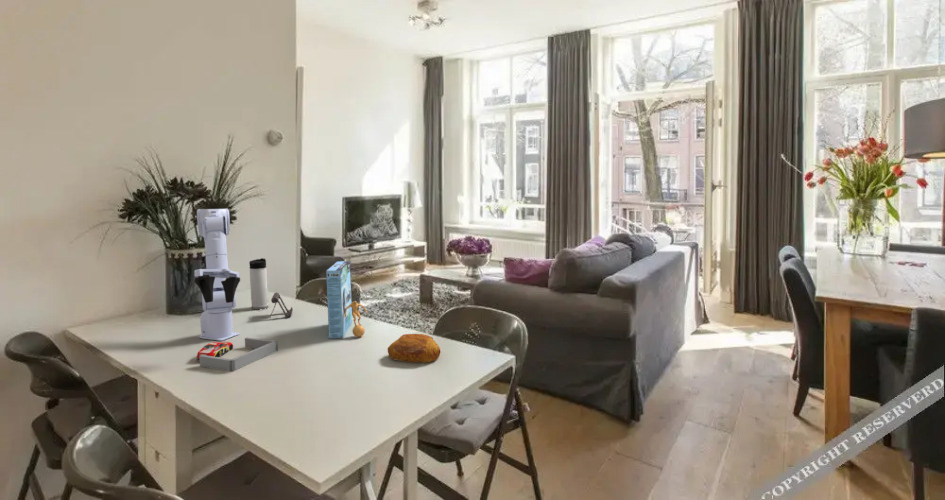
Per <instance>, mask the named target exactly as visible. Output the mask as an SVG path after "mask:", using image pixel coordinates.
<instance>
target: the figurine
mask: <svg viewBox="0 0 945 500" xmlns="http://www.w3.org/2000/svg"><path fill="white" fill-rule="evenodd" d="M350 307H351V308H352V319H353V324H354V327H352V335H353V336H354V337H356V338H361V337H363V336H364V335H365V332H366V331H365V327H364V326H363V325H362V324H361V321H360V320H361V319H362V316H361V314H360V310H358V308H359V307H362V309H363V310H364V311H365V312H366V314H368V310H367V309H366V308H365V307H364V305H363V304H361V303H359V302H357V301H356V300H354V301H351V304H350V305H349V306H348V307H346V308H345V316H347V315H346V311H347V309H348V308H350ZM345 318H346V317H345ZM356 320H357V322H358V324H357V322H356Z"/></svg>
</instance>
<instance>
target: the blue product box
mask: <svg viewBox="0 0 945 500" xmlns="http://www.w3.org/2000/svg"><path fill="white" fill-rule="evenodd" d="M325 274H326V276H325V277H326V297H327V298H326V301H327V319H328V320H327V321H328V323H327V324H328V339H344V337H345V335H346V333H347V332H348V330H349V328H350V327H351V325H352V323H353V315H352V312H353V310H352V308H351V307H350V308H348V309H347V311H346V315H347V316H345V308H346V307H348V306H349V305H350V304H351V303H352V288H351V287H352V285H351V262H350V261H348V260H346V261H345V260H344V261H343V260H342V261H336V262H335V263H334V264H333V265H331V266H330V267H329V268H328V269H326V271H325ZM345 317H346V318H345Z"/></svg>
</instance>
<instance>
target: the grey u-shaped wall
mask: <svg viewBox="0 0 945 500" xmlns="http://www.w3.org/2000/svg"><path fill="white" fill-rule="evenodd" d="M278 346H279V345H278V341H277V340H270V339H262V338H255V337H249V336H247V337H244V348H247V349H253V350H251V351H248V352H245V353H243V354H240V355H239V356H236V357H234V358H226V357H225V358H224V357H221V356H220V357H213V356H207V355H201V356H199V359H200V360H199V367H203V368H208V369H214V370H220V371H221V370H222V371H227V372H232V373H233V372H235V371H236V370H237V371H238V370H239V369H241V368H243V367H245V366H247V365H250V364H252V363H254V362H256V361H258V360H260V359H263V358H265V357H267V356H269V355H271V354H275V353H276V352H278Z"/></svg>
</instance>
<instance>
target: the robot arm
mask: <svg viewBox="0 0 945 500" xmlns="http://www.w3.org/2000/svg"><path fill="white" fill-rule="evenodd" d="M230 217H231V216H230V209H228V207H226V208H206V209H205V208H202V209H201V208H198V209H197V210H196V218H197V226H198V233H199V236H201V237H203V242H204V249H205V266H206V267H205V268H199V269H195V270H194V277H195V278H194V283H195V284H196V285H197V286H198V288H199V290H200V292H201V301H202V310H203V311H202V313H201V314H200V321H199V322H200V331H201V332H200V333H201V334H200V336H199V338H200V339H205V340H212V341H217V342H223V341H224V340H228V339H231V338H232V337H235V336H238V335H240V332H238V331H237V332H236V331H235V332H234V324H233V323H234V322H233V320H234V319H233V309H235V308H236V306H237V302H236V301H237V299H236V291H237V289H238V286H239V283H240V282H241V277H240V272H239V271H234V270H231V268H229V263H228V262H229V261H228V259H229V258H228V247H227V246H228V245H227V236H228V235H230V231H231V230H230V225H231V221H230Z"/></svg>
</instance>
